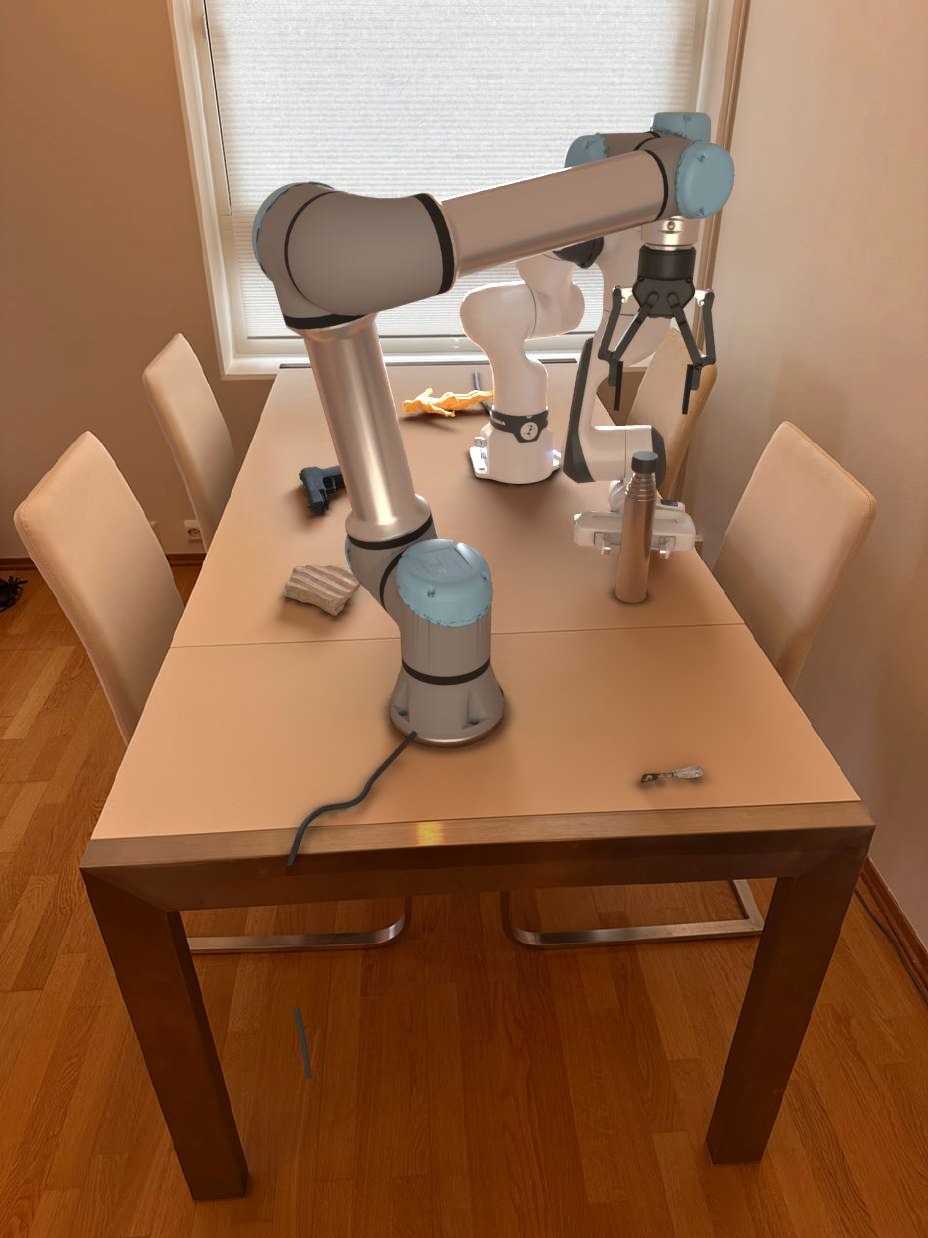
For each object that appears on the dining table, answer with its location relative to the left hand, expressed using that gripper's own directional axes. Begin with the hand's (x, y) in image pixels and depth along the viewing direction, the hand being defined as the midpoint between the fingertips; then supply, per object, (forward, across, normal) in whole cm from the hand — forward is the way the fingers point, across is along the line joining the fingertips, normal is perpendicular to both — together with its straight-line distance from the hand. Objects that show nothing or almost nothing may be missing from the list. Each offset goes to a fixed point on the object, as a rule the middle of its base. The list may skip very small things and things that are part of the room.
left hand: (650, 409), depth 131 cm
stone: (+32, -50, -9) cm, 60 cm away
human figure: (+32, -47, +85) cm, 103 cm away
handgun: (+32, -61, +30) cm, 75 cm away
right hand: (+25, 0, +2) cm, 25 cm away
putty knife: (+32, +6, -44) cm, 55 cm away
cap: (+7, 0, 0) cm, 7 cm away
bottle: (+32, 0, 0) cm, 32 cm away
